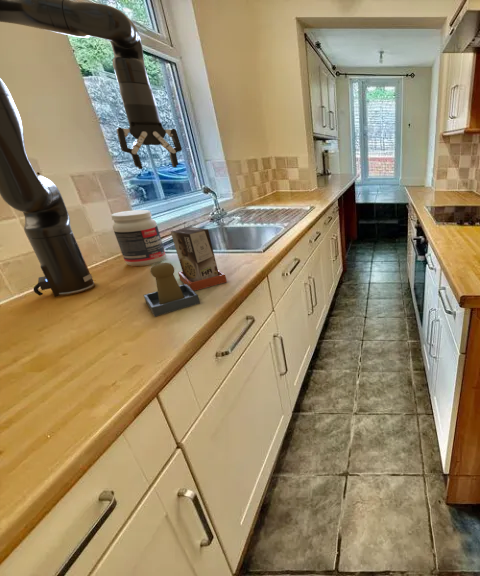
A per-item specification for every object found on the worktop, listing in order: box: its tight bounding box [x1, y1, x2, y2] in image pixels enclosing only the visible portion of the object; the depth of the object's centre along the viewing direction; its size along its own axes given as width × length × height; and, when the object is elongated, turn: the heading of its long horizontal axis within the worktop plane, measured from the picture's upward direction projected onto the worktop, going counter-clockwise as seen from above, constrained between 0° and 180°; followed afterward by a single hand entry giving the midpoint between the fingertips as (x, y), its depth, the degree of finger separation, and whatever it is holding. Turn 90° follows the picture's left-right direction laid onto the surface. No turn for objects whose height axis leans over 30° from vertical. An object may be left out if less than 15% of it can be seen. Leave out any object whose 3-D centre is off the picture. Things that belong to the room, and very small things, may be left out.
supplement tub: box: [110, 209, 167, 267], centre depth 116 cm, size 13×13×18 cm
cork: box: [150, 261, 185, 305], centre depth 86 cm, size 6×6×11 cm
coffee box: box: [170, 226, 219, 282], centre depth 99 cm, size 9×6×16 cm
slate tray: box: [143, 283, 201, 317], centre depth 88 cm, size 11×11×3 cm
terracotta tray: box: [177, 269, 228, 292], centre depth 102 cm, size 10×13×3 cm
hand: (158, 167), depth 93 cm, fingers open, 8 cm apart
